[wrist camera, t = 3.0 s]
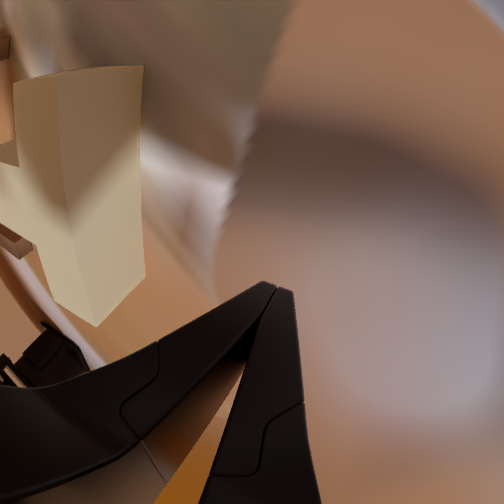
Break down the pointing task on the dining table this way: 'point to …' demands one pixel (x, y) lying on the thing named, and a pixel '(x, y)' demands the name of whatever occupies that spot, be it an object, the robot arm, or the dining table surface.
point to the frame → (3, 234)
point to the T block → (78, 183)
